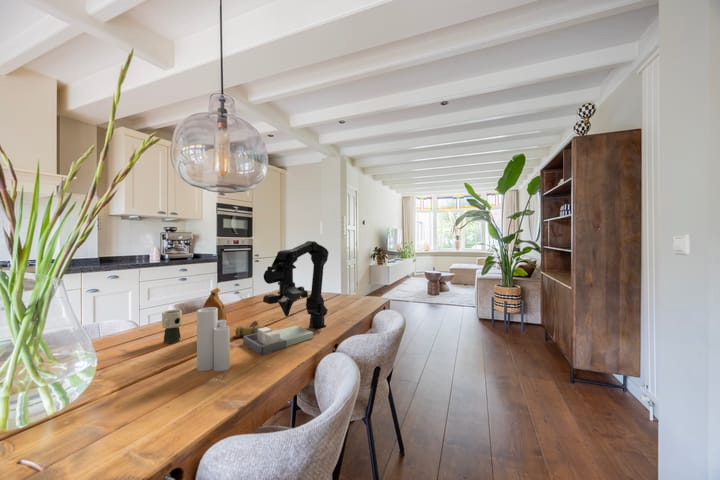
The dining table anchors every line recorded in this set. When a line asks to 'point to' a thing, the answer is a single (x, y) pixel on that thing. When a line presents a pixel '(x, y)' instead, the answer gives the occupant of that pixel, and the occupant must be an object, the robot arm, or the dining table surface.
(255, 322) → the gavel
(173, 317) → the character mug
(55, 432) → the dining table surface
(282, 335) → the board
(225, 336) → the vase
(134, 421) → the dining table surface
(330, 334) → the dining table surface
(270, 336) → the light grey block
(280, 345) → the tray
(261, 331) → the white square block
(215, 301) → the coffee package
